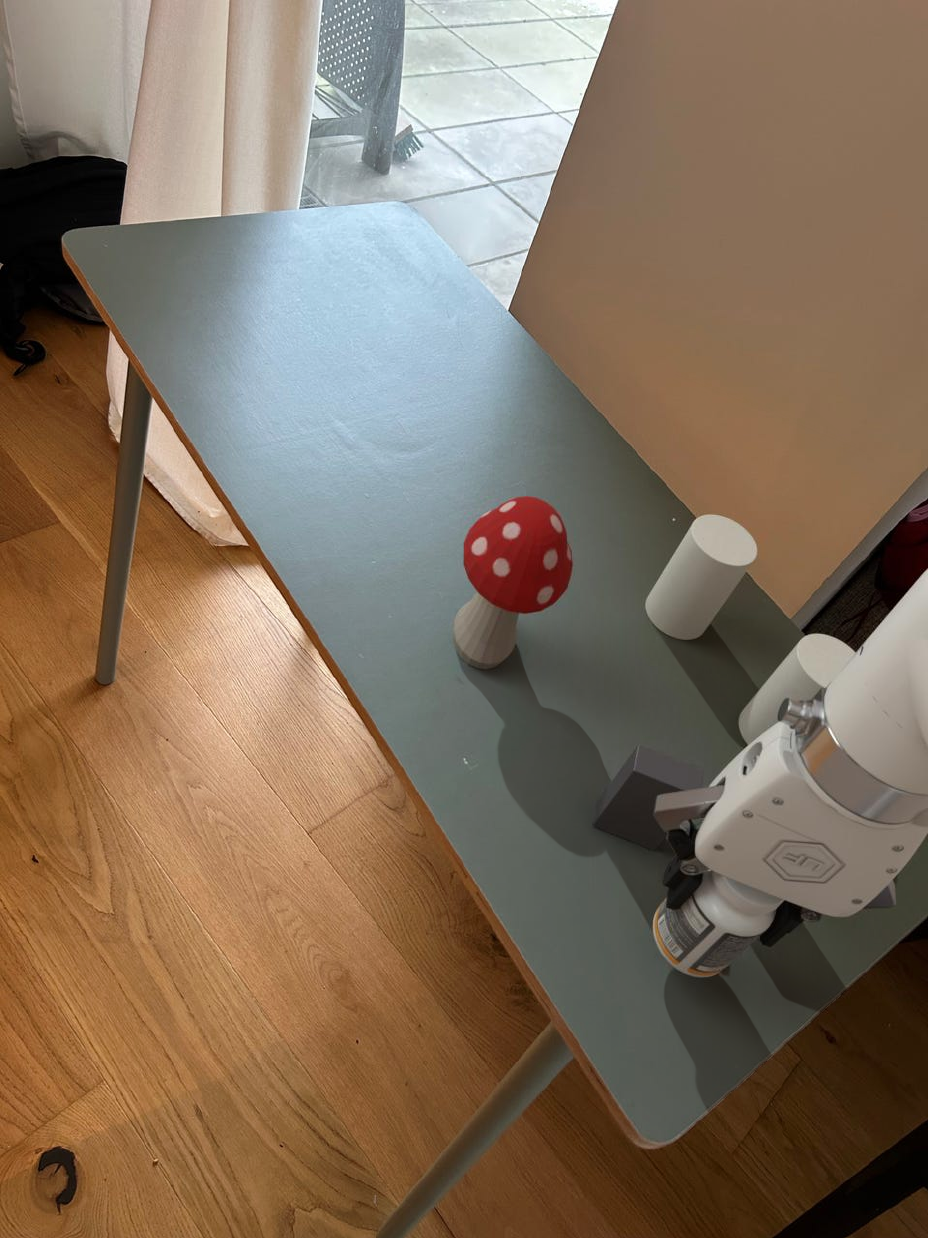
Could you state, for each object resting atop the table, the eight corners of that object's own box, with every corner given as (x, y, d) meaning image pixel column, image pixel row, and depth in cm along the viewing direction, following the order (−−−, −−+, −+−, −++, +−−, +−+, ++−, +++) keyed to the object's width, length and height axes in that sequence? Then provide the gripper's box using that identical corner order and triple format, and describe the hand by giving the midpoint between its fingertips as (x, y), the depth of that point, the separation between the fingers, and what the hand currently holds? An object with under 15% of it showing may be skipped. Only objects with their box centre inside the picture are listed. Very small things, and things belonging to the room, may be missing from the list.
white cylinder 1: (708, 604, 94) (759, 530, 87) (702, 649, 90) (755, 575, 83) (649, 580, 94) (695, 504, 87) (640, 624, 90) (688, 548, 83)
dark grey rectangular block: (658, 824, 77) (704, 769, 71) (654, 851, 75) (700, 797, 69) (597, 800, 77) (638, 743, 71) (592, 826, 75) (633, 770, 69)
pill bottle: (732, 920, 70) (803, 851, 63) (722, 995, 66) (796, 929, 59) (656, 887, 70) (719, 814, 63) (642, 959, 66) (706, 890, 59)
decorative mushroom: (524, 701, 81) (590, 578, 70) (421, 672, 80) (472, 542, 69) (535, 611, 88) (597, 486, 77) (440, 584, 87) (489, 453, 76)
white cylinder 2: (804, 720, 88) (867, 650, 81) (801, 774, 84) (868, 706, 77) (740, 694, 88) (798, 622, 81) (735, 747, 84) (795, 676, 76)
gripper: (710, 746, 49) (584, 910, 62) (1038, 873, 49) (843, 1011, 62) (722, 641, 54) (603, 812, 67) (1018, 756, 54) (843, 905, 67)
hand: (720, 906), depth 65 cm, fingers closed on pill bottle, 5 cm apart
